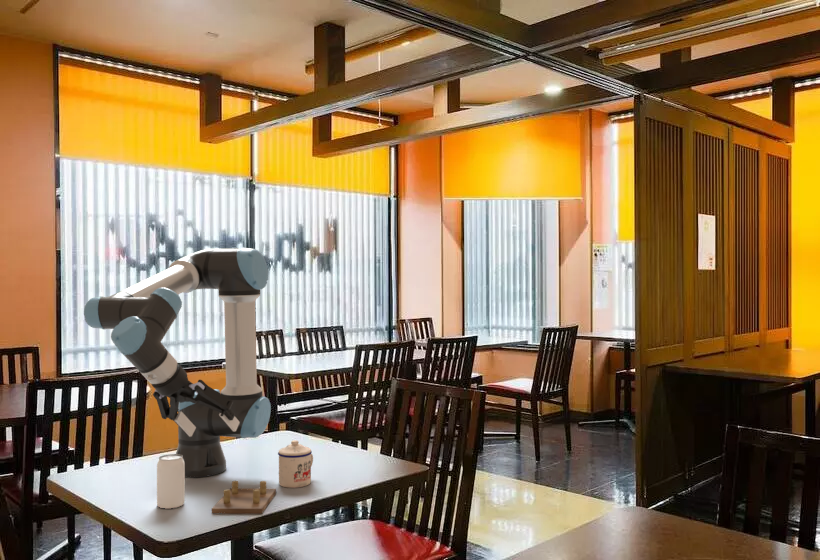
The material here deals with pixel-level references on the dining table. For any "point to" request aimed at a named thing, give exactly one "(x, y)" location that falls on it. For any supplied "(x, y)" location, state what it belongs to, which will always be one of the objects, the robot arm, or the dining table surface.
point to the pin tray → (244, 500)
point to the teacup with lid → (295, 465)
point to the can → (170, 481)
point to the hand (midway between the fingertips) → (214, 429)
